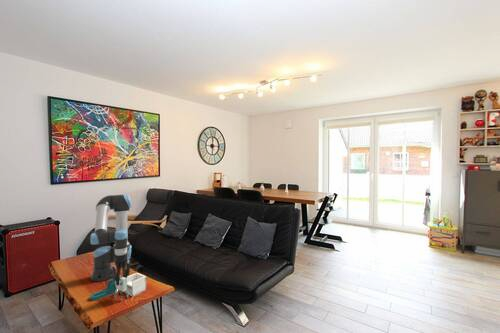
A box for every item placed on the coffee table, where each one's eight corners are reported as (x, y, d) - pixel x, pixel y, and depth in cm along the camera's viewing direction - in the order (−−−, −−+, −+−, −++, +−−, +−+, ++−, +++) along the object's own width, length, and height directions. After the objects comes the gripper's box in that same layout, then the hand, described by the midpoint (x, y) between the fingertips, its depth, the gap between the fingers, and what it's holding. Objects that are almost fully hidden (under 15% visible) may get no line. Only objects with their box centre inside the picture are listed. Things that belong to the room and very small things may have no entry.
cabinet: (124, 291, 173) (123, 277, 173) (137, 285, 181) (137, 272, 181) (133, 296, 167) (132, 282, 167) (146, 290, 175) (146, 276, 175)
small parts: (112, 296, 167) (112, 281, 167) (119, 292, 171) (119, 278, 171) (121, 301, 161) (121, 286, 161) (128, 297, 165) (128, 283, 165)
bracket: (116, 287, 179) (116, 277, 179) (120, 290, 175) (120, 279, 175) (88, 298, 165) (88, 286, 165) (92, 302, 161) (92, 290, 160)
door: (114, 288, 166) (114, 276, 166) (119, 286, 169) (119, 275, 169) (121, 292, 161) (121, 280, 161) (127, 290, 164) (126, 278, 164)
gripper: (112, 258, 157) (112, 295, 157) (135, 251, 170) (135, 285, 170) (106, 256, 161) (106, 291, 161) (129, 249, 174) (129, 282, 174)
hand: (121, 288), depth 165 cm, fingers closed on door, 3 cm apart
